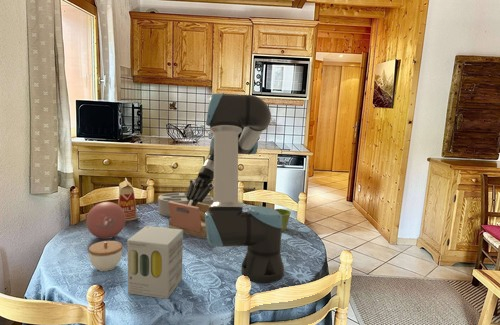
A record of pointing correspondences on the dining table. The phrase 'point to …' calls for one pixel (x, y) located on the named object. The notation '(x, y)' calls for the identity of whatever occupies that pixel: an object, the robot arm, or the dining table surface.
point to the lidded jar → (105, 255)
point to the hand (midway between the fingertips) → (186, 213)
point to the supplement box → (155, 261)
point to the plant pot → (284, 217)
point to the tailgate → (185, 216)
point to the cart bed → (203, 234)
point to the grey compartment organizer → (177, 198)
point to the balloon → (106, 220)
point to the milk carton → (127, 200)
